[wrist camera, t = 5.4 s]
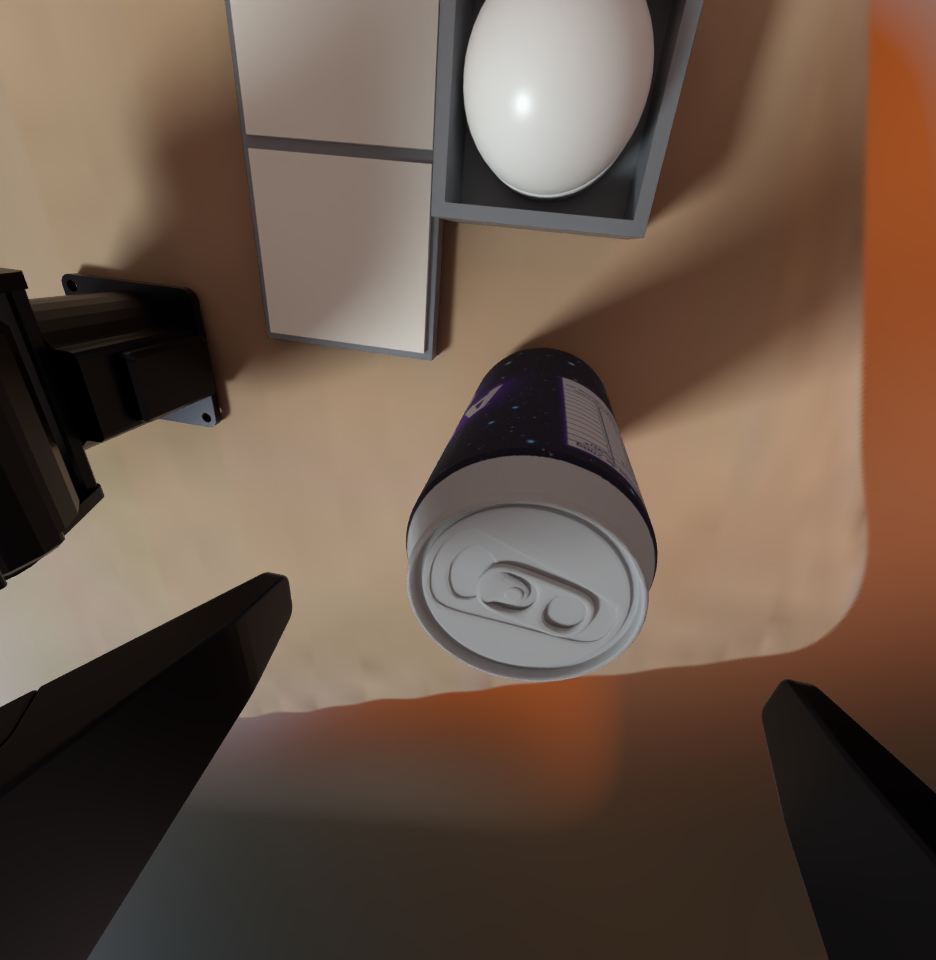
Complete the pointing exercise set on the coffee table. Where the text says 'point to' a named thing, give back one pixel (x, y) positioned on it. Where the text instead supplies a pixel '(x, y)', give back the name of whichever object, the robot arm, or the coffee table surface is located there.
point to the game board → (342, 168)
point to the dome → (556, 89)
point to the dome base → (604, 206)
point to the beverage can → (533, 528)
